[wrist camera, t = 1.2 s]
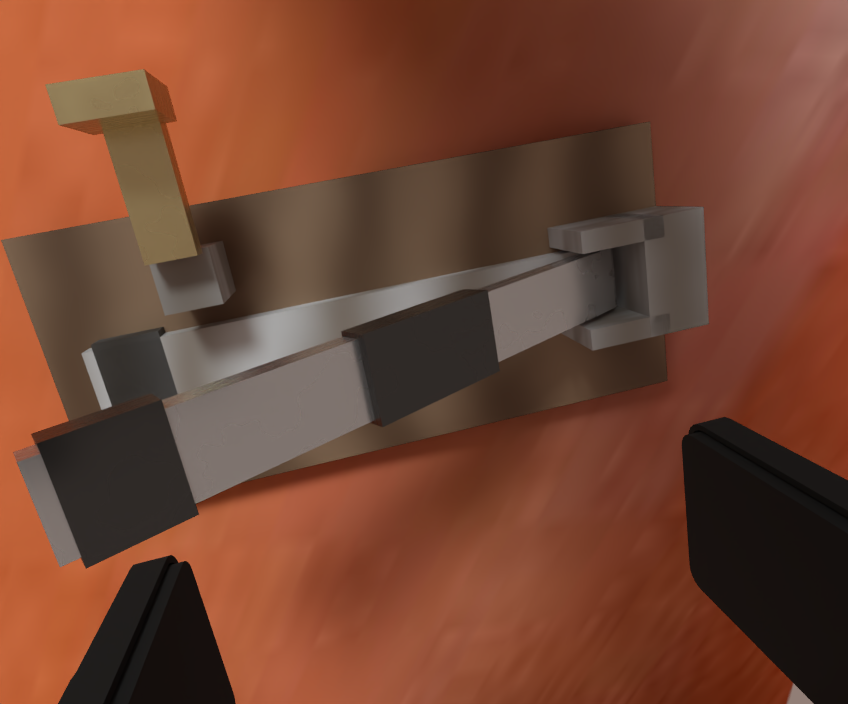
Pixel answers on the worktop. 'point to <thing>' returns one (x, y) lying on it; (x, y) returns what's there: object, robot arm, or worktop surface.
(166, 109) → the lock bolt
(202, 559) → the worktop surface
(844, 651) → the robot arm
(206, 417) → the banded silver bar
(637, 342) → the tong base
